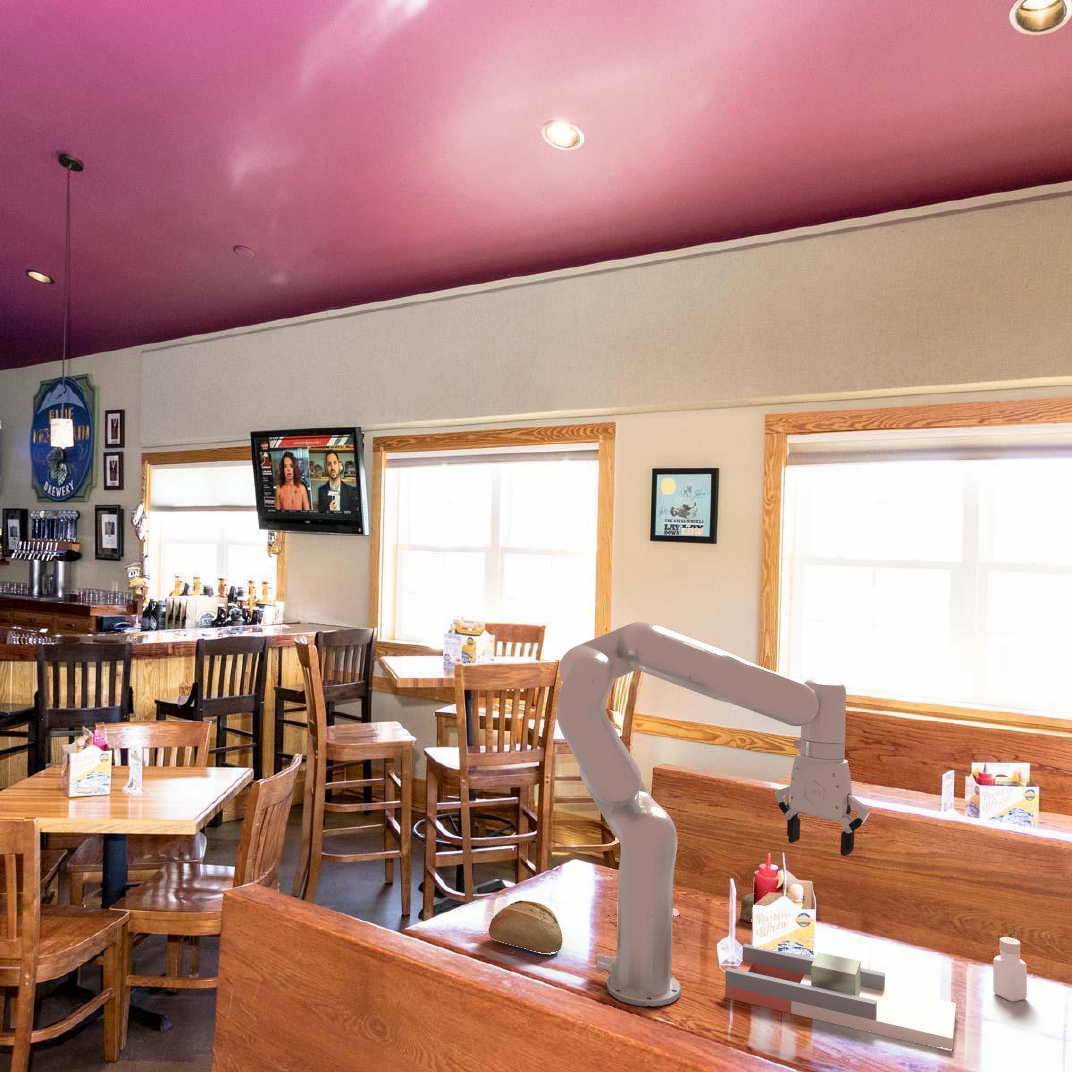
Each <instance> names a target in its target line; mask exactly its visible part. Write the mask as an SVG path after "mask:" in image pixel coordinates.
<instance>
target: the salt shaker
mask: <svg viewBox="0 0 1072 1072" xmlns="http://www.w3.org/2000/svg"><path fill="white" fill-rule="evenodd" d="M999 953H1000V954H999V955H997V956H995V957H994V958H993V961H992V962H993V966H992V968H993V971H992V973H993V974H992V975H993V977H992V978H993V980H992V983H993V987H992V991H993V993H994V994H995V995H997V996H999V997H1001V998H1003V999H1005V1000H1007V1001H1009V1002H1012V1001H1013V1002H1018V1001H1021V1000H1025V999H1027V997H1028V996H1027V995H1028V986H1027V985H1028V983H1027V982H1028V979H1027V977H1028V976H1027V973H1028V965H1027V963H1026V962H1025V961H1023V959H1021V958H1020V957H1021V941H1020V940H1018V939H1017V938H1013V937H1009V936H1003V937H999Z"/></svg>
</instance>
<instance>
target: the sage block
mask: <svg viewBox="0 0 1072 1072" xmlns="http://www.w3.org/2000/svg"><path fill="white" fill-rule="evenodd" d="M814 958H815V959H814V961H813V963H812V965H811V986H814V987H819V988H823V989H828V990H832V991H836V992H841V993H845V994H850V995H854V996H859V994H860V971H861V968H862V967H861V965H862V964H861V960H857V959H854V958H847V957H843V956H838V955H833V954H827V953H823V952H817V953H816V955H815V957H814Z"/></svg>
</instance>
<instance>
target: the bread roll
mask: <svg viewBox="0 0 1072 1072" xmlns="http://www.w3.org/2000/svg"><path fill="white" fill-rule="evenodd" d="M489 935H490V936H489ZM488 936H489V937H491V938H490V939H492V938H493V939H495V940H498V941H501V942H504V943H507V944H511V945H514V946H518V947H522V948H526V949H528V950H532V951H536V952H541V953H551V952H556V951H558V952H560V951H561V949H562V947H563V946H562V945H563V932H562V929H561V926H560V924H559V921H558V919H557V917H556V915H555V913H554V912H553V911H552V910H551V909H550V908H549V907H548V906H546V905H544V904H542V903H539V902H536V901H531V900H530V901H529V900H520V899H519V900H518V901H517V900H516V901H515V902H513V903H510V904H509V905H507V906H505V907H503V908H502V909H501V910H499V911H498V912H497V913H496V914H495V915H494V916H493V917H492V919H491V921H490V924H489V928H488ZM507 944H506V945H507ZM511 945H510V946H511ZM514 946H513V947H514ZM518 947H517V948H518ZM528 950H527V951H528ZM559 950H560V951H559Z"/></svg>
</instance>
